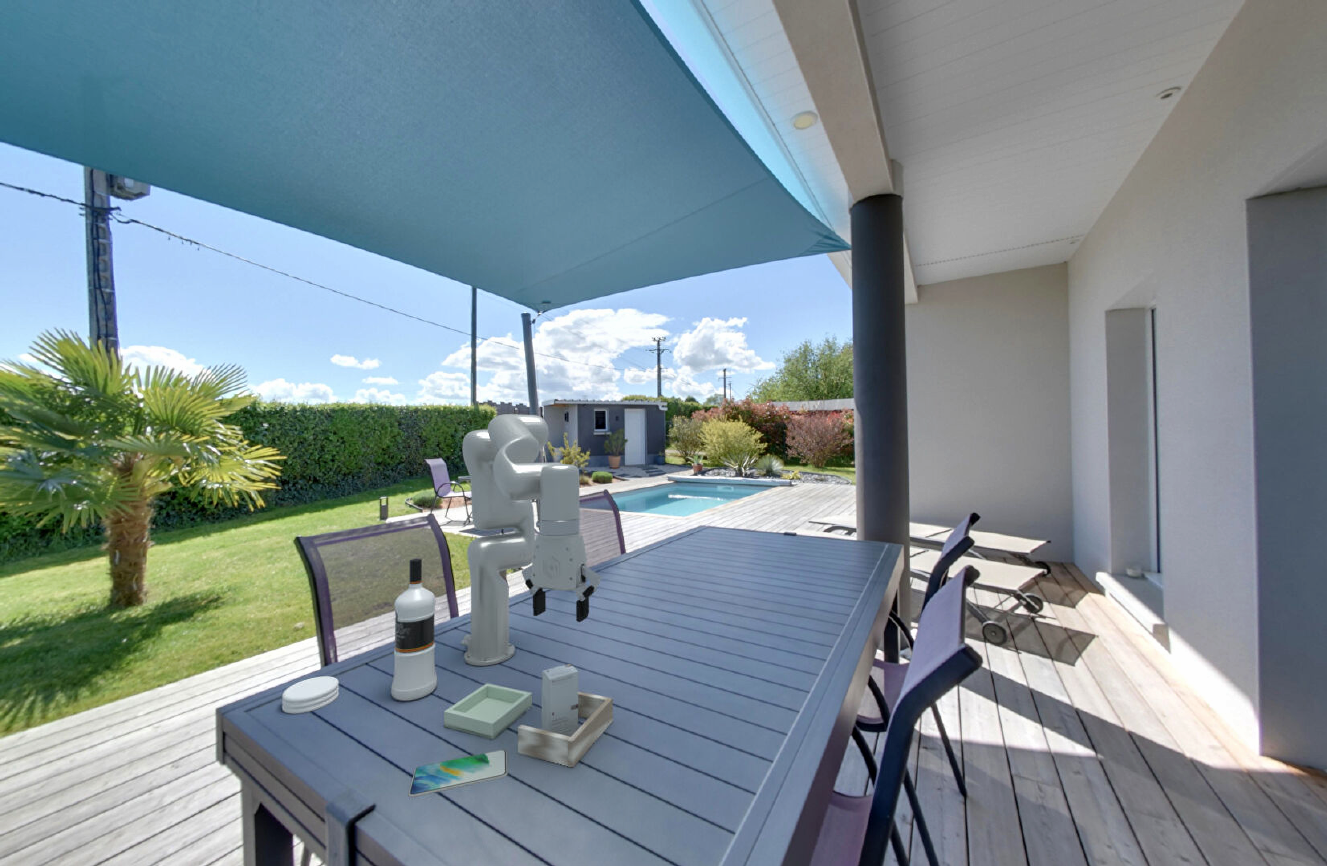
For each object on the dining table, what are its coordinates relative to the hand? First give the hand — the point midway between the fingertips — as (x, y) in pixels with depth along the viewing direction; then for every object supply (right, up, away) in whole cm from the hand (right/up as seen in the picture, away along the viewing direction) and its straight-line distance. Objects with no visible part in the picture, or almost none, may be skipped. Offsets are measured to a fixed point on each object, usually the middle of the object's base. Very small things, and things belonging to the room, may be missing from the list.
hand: (560, 616), depth 93 cm
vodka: (-37, -23, +16) cm, 46 cm away
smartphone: (-15, -23, -11) cm, 29 cm away
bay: (+2, -23, -1) cm, 23 cm away
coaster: (-57, -24, +12) cm, 63 cm away
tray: (-16, -23, +6) cm, 28 cm away
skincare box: (0, -23, 0) cm, 23 cm away
